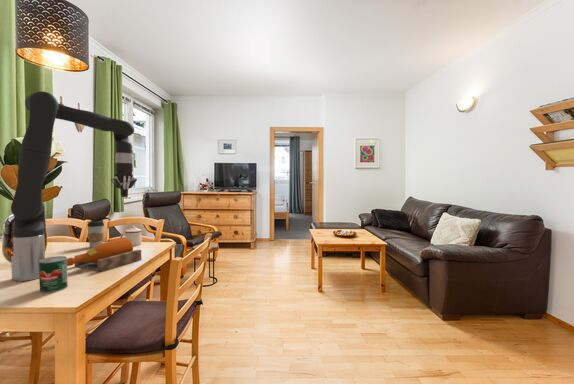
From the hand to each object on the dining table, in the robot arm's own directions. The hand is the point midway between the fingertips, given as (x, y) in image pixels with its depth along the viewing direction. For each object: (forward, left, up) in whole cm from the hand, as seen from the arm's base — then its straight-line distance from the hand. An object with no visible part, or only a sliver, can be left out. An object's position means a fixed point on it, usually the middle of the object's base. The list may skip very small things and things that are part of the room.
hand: (124, 196), depth 138 cm
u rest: (-8, 0, -31) cm, 33 cm away
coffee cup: (+10, +38, -32) cm, 50 cm away
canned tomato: (-37, -12, -32) cm, 50 cm away
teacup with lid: (+22, +24, -32) cm, 45 cm away
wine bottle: (+1, 0, -26) cm, 26 cm away
